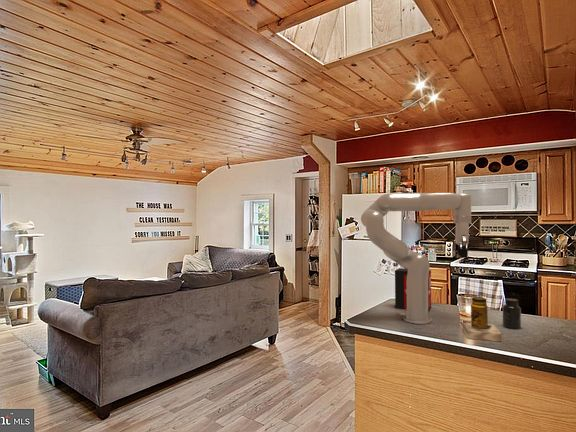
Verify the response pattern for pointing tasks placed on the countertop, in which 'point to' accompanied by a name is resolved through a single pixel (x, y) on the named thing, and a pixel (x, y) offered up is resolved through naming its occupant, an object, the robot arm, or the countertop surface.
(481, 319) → the condiment
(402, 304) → the cleaning product box
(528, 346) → the countertop surface
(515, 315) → the supplement bottle
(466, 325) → the base slab
